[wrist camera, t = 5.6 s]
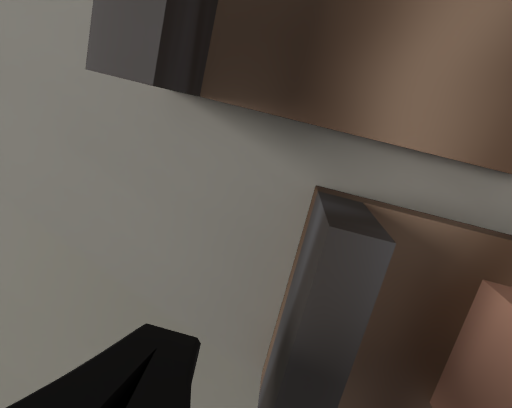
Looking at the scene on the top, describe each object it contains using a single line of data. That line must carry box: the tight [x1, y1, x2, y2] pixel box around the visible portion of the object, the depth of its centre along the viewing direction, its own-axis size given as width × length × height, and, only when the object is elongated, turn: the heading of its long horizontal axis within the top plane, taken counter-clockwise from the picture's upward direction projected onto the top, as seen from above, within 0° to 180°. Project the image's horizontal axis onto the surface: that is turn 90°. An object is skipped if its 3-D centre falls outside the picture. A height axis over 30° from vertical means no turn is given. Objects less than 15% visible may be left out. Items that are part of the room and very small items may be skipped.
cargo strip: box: [258, 186, 512, 408], centre depth 11 cm, size 12×8×5 cm, turn 76°
